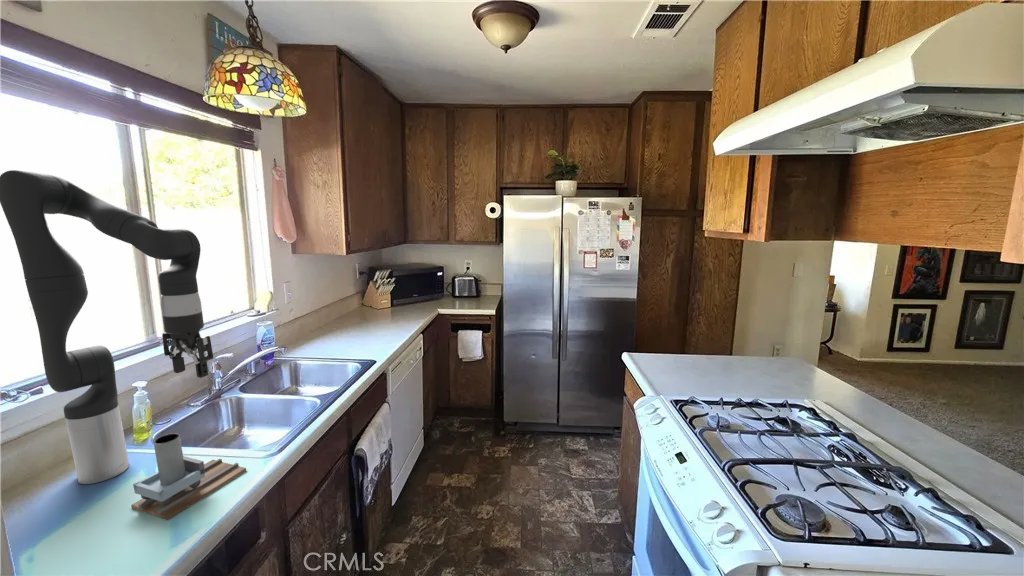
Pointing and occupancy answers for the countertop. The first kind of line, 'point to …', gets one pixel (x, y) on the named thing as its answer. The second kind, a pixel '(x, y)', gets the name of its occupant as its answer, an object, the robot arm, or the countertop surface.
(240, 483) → the countertop surface
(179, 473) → the grey cylindrical cup
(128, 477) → the countertop surface
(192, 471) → the grey open box
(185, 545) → the countertop surface
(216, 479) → the rail board
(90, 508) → the countertop surface
